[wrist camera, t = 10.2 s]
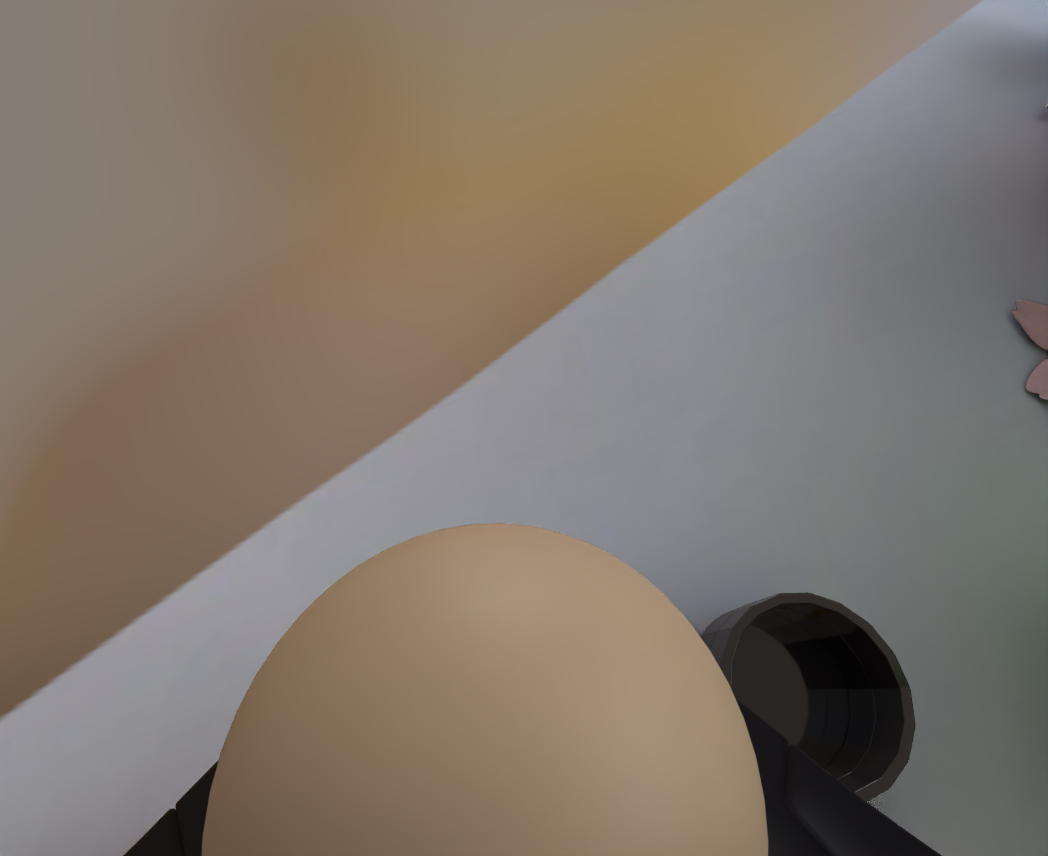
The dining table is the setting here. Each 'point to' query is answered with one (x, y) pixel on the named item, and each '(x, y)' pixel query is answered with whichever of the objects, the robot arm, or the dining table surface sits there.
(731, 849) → the doll
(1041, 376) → the flower
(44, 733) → the dining table surface
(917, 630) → the dining table surface
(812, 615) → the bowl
